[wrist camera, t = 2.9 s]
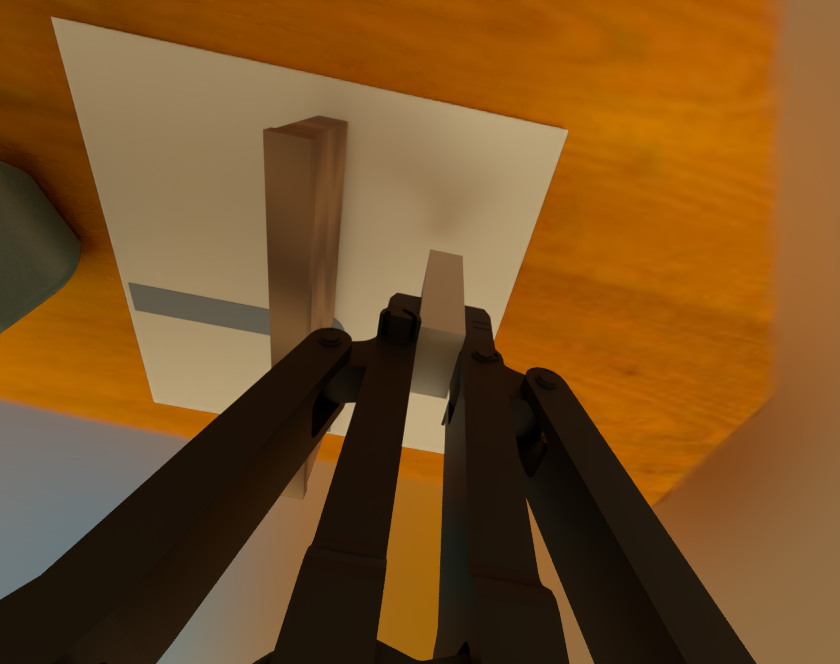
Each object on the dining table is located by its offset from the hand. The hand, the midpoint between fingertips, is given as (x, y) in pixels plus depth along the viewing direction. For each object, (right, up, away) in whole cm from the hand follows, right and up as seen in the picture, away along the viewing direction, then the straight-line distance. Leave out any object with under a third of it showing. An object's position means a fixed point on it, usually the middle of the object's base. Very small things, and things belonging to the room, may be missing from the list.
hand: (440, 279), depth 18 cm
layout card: (-8, 0, +9) cm, 12 cm away
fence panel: (-6, +4, +5) cm, 9 cm away
